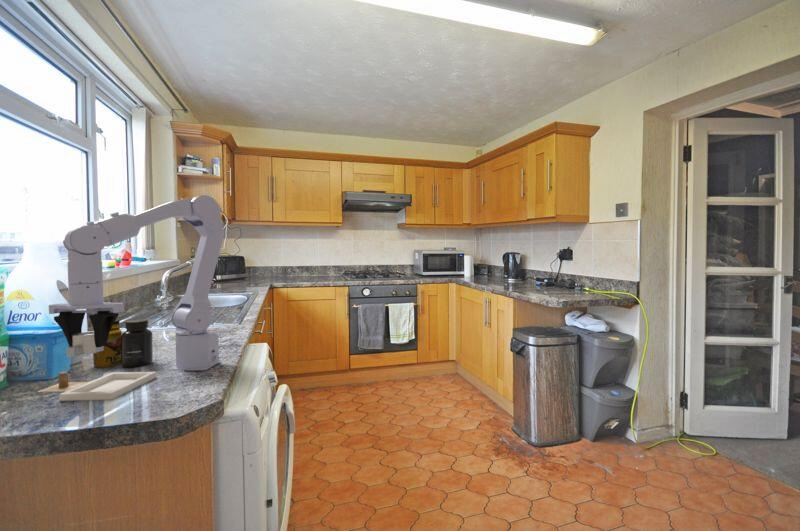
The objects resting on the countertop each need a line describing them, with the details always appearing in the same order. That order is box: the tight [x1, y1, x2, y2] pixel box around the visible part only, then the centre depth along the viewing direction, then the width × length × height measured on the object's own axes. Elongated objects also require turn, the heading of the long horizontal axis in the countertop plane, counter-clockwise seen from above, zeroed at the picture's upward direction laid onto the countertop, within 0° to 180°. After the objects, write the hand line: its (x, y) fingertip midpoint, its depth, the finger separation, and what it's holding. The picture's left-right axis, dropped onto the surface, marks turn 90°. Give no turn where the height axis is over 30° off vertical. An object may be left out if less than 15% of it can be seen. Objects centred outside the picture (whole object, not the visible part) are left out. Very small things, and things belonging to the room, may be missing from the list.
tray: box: [58, 371, 157, 402], centre depth 81 cm, size 10×14×2 cm
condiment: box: [92, 319, 123, 368], centre depth 100 cm, size 7×8×12 cm
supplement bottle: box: [120, 319, 154, 369], centre depth 99 cm, size 7×7×12 cm
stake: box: [36, 371, 89, 393], centre depth 82 cm, size 6×6×4 cm
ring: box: [66, 330, 104, 358], centre depth 81 cm, size 5×7×4 cm
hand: (88, 346), depth 82 cm, fingers closed on ring, 5 cm apart
